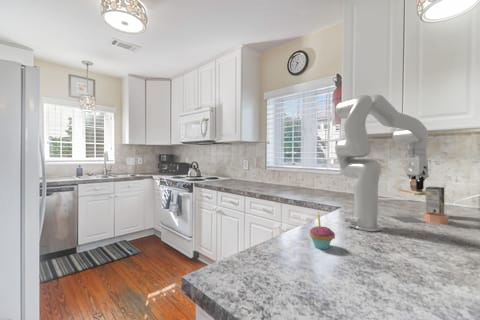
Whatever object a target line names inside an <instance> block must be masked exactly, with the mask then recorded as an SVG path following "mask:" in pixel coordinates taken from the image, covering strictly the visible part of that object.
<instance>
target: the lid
mask: <svg viewBox="0 0 480 320" xmlns="http://www.w3.org/2000/svg"><path fill="white" fill-rule="evenodd" d="M416 181H417V179H411V180H410V189H398V193H401V194H406V195H407V194H408V195H412V196H426V195H437V193H436V192H430V191H426V189H425V190H424V189H416Z"/></svg>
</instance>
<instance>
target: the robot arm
mask: <svg viewBox="0 0 480 320" xmlns="http://www.w3.org/2000/svg"><path fill="white" fill-rule="evenodd" d="M334 111H335V114H336V116H337V117H338V118H339V119H344V120H345V122H344V125H343V126H344V127H343V129H344V135H345V137H344V138H340V139H339V140H338V141H337V142H336V145H335V154H336V158H337V161H338V164H339V168H340V170H341V173H342V174H343V176H345V178H350V179H357V181H356V183H355V185H354V190H353V199H354V201H353V202H354V203H353V215H351V217H349V218H348V217H344V218H343V222H344V223H348V224H350V227H352V228H353V229H356V230H360V231H365V232H380V231H382V225H380V224H379V223H378V222H379V220H378V219H379V218H378V215H379V213H378V211H379V209H378V207H379V181H380V176H381V172H382V167H381V164H380V163H379V162H378V160H375V159H372V158H365V157H367V156H369V155H371V152H372V148H371V147H372V145H371V143H370V139H369V136H368V131H367V128H366V120H367V117H368V115H371V116H373V117H374V118H375V119H376V120H377V121H378V122H379V123H380V124H381V125H382V126H384V127H387V128H392V129H396V130H394V132H393V133H392V140H393V141H394V142H396V143H397V144H407V156H406V158H405V168H404V169H405V170H404V172H405V174H406V176H407V177H408V179H409V181H411V179H417V181H416V189H422V190H424V185H425V184H424V182H425V180H426V179H427V178H428V177H430V176H429V159H428V156H427V140H428V137H429V131H428V129H427V127H426V126H425V125H424V124H423V122H422V121H421V120H419V119H418V118H416V117H413V116H410V115H409V114H405V113H402V112H400V111H398V110H397V109H396V108H395V107H394V106H393V105H392V104H391V102H389V101H388V100H387V99H386V98H385V97H384V96H383V95H381V94H373V95H368V94H362V95H358V96H354V97H351V98H348V99H345V100H342V101H340V102H338V103H337V104H336V106H335V110H334Z"/></svg>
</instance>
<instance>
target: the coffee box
mask: <svg viewBox="0 0 480 320" xmlns="http://www.w3.org/2000/svg"><path fill="white" fill-rule="evenodd" d="M425 191H430V192H436V193H437V195H425V212H435V213H442V214H445V186H444V187H441V186H427V187H425Z"/></svg>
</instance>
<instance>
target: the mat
mask: <svg viewBox="0 0 480 320" xmlns="http://www.w3.org/2000/svg"><path fill="white" fill-rule="evenodd" d="M388 217H389V218H391V219H394V220H396V221H399V222H402V223H404V224H405V223H407V224H409V223H411V224H413V223H414V224H418V223H419V224H428V223H429V222H428V221H425V220H422V219H419V218H416V217H413V216H405V215H404V216H402V215H401V216H397V215H396V216H395V215H392V216H390V215H389V216H388Z"/></svg>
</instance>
